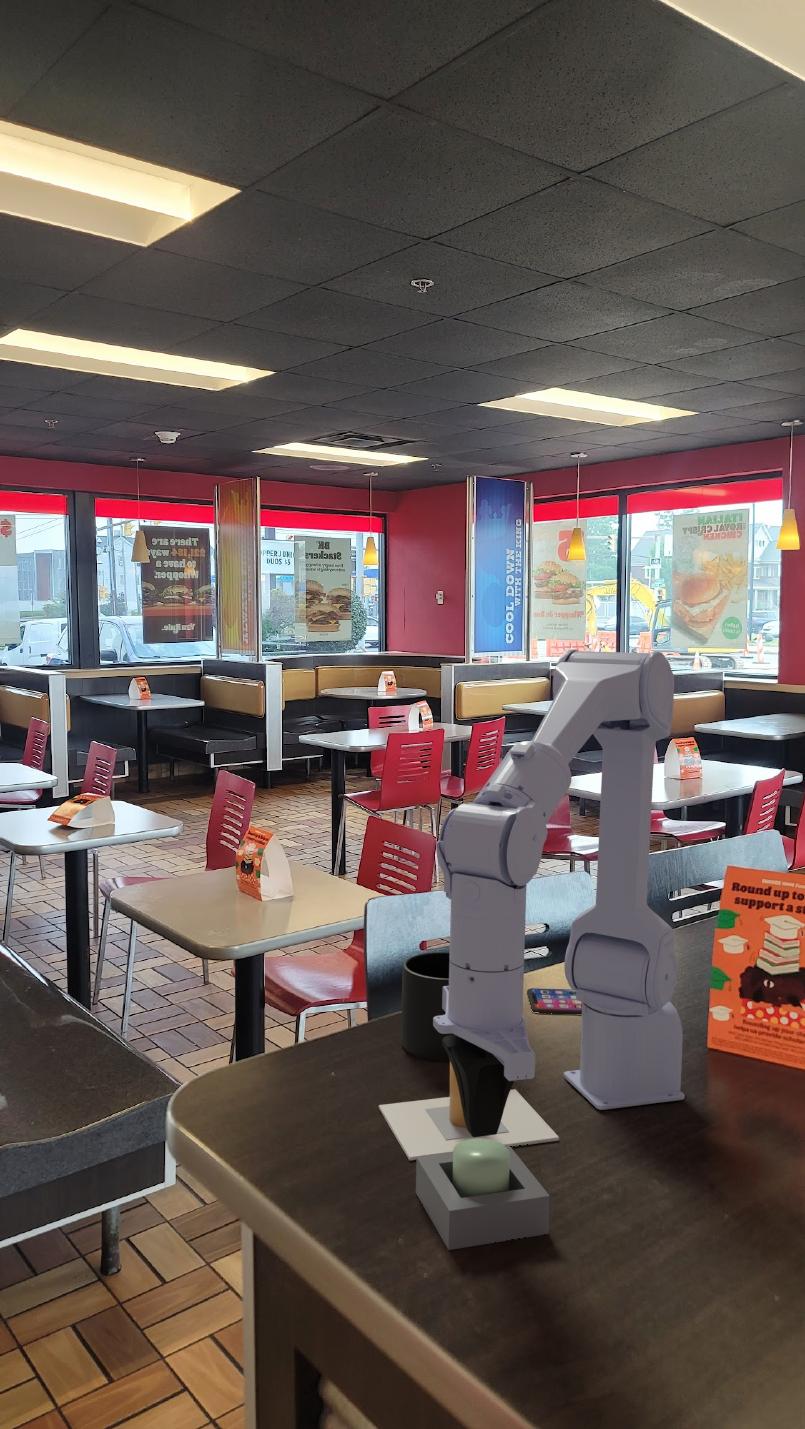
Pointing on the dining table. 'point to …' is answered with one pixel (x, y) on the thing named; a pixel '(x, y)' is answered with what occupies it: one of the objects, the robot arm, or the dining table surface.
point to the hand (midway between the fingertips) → (481, 1131)
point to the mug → (424, 1004)
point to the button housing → (481, 1204)
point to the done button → (480, 1167)
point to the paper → (433, 1133)
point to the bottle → (455, 1102)
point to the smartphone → (554, 1001)
